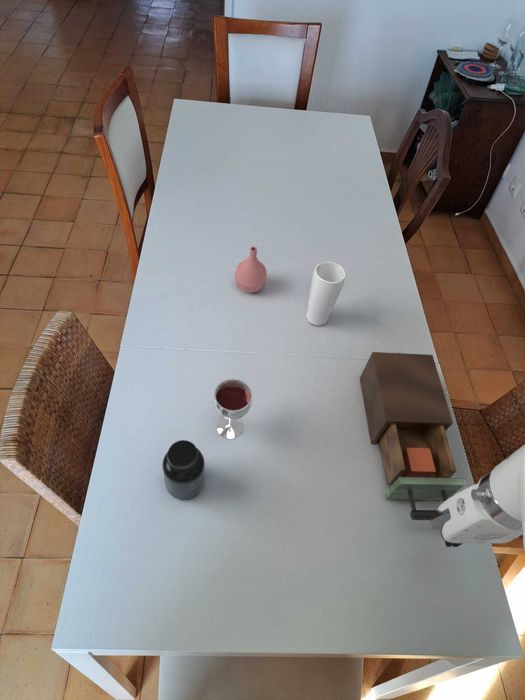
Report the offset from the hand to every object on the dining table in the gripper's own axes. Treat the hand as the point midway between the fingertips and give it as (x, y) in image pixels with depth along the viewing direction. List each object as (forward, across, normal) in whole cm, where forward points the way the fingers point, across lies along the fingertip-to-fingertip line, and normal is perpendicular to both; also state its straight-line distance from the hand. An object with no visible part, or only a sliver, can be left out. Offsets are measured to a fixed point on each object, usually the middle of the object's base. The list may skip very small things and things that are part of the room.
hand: (448, 536), depth 71 cm
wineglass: (+10, -34, +23) cm, 42 cm away
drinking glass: (+10, -14, +52) cm, 55 cm away
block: (+8, 0, +14) cm, 16 cm away
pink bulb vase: (+10, -30, +61) cm, 69 cm away
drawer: (+9, 0, +13) cm, 16 cm away
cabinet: (+10, 0, +28) cm, 29 cm away
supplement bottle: (+10, -42, +11) cm, 44 cm away
